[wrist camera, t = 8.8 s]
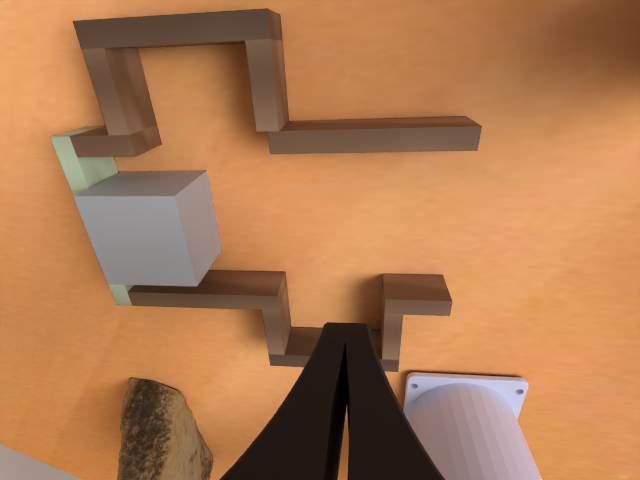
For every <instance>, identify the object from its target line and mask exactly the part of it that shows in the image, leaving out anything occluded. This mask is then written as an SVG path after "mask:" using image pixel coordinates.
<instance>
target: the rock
mask: <svg viewBox="0 0 640 480" xmlns="http://www.w3.org/2000/svg"><path fill="white" fill-rule="evenodd" d="M120 430H121V433H122V440H121V450H120V453H119V469H118V476H117V480H209V479H210V473H211V471H212V466H213V458H212V455H211V453H210V451H209V450H208V448H207V446H206V445H205V442H204V439H203V437H202V435H201V434H200V432H199V430H198V428H197V426H196V420H195V419H194V417H193V415H192V412H191V411H190V409H189V408H188V406H187V405H186V401H185V398H184V397H183V395H182V394H181V393H180V392H179V391H178V390H174V389H172V388H170V387H167V386H165V385H162V384H159V383H157V382H153V381H150V380H143V379H135V378H131V379H130V380H129V389H128V391H127V392H126V394H125V397H124V400H123V408H122V413H121V425H120Z"/></svg>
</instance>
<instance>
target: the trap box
mask: <svg viewBox="0 0 640 480" xmlns="http://www.w3.org/2000/svg"><path fill="white" fill-rule="evenodd" d="M73 24H74V27H75V30H76V33H77V37H78V40H79V43H80V46H81V49H82V52H83V55H84V59H85V62H86V65H87V68H88V71H89V74H90V77H91V80H92V84H93V87H94V90H95V93H96V96H97V99H98V102H99V106H100V109H101V112H102V115H103V118H104V121H105V124H106V126H96V127H84V128H80V129H76V130H73V131H69V132H65V133H62V134H58V135H55V136H51V137H50V138H51V141H52V143H53V146H54V148H55V151H56V153H57V156H58V158H59V161H60V163H61V166H62V168H63V171H64V174H65V176H66V179H67V181H68V184H69V186H70V189H71V191H72V194H73V196H75V195H77V194H79V193H80V192H82V191H84V190H86V189H88V188H90V187H92V186H94V185H96V184H98V183H100V182H102V181H104V180H106V179H108V178H110V177H112V176H114V175H116V174H118V170H117V166H116V163H115V160H114V157H135V156H138V155H140V154H142V153H144V152H146V151H148V150H150V149H153V148H155V147H157V146H159V145H161V144H162V143H161V139H160V135H159V131H158V127H157V123H156V119H155V115H154V112H153V108H152V104H151V100H150V96H149V92H148V88H147V84H146V80H145V76H144V72H143V68H142V64H141V60H140V56H139V52H138V48H155V47H174V46H193V45H212V44H230V43H245V44H246V52H247V60H248V68H249V76H250V84H251V92H252V100H253V108H254V116H255V124H256V132H266V131H268V140H269V149H270V154H308V153H365V152H423V151H478V145H479V139H480V133H481V127H482V126H481V125H479V124H477V123H476V122H474V121H473V120H471V119H469V118H468V117H466V116H457V117H421V118H385V119H349V120H313V121H289V116H288V103H287V91H286V79H285V66H284V54H283V42H282V29H281V17H280V14H278V13H276V12H273V11H271V10H269V9H253V10H237V11H221V12H206V13H190V14H174V15H159V16H143V17H127V18H111V19H96V20H80V21H73ZM109 287H110V289H111V292H112V294H113V297H114V299H115V302H116V305H126V306H157V307H188V308H219V309H250V310H262V314H263V321H264V327H265V334H266V340H267V347H268V354H269V360H270V365H271V366H291V367H305V366H306V364H307V362H308V360H309V358H310V357H311V355H312V352H313V350H314V348H315V346H316V344H317V342H318V340H319V337H320V335H321V332H322V330H323V328H304V327H291V320H290V311H289V301H288V292H287V282H286V273H285V272H269V271H219V270H208V271H207V273H206V274H205V276H204V277H203V279H202V280H201V282H200V283H199V284H198V286H159V285H120V284H109ZM451 306H452V299H451V296H450V294H449V291H448V288H447V286H446V283H445V280H444V277H443V275H420V274H383V282H382V302H381V322H380V330H371V334H372V338H373V342H374V345H375V349H376V352H377V354H378V357H379V360H380V363H381V365H382V368H383V370H384V371H392V372H398V366H399V355H400V344H401V332H402V321H403V314H406V315H437V316H450V312H451Z"/></svg>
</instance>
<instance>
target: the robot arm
mask: <svg viewBox="0 0 640 480" xmlns="http://www.w3.org/2000/svg"><path fill="white" fill-rule="evenodd" d="M528 387H529V385H528V383H527V381H526V379H524V378H520V377H500V376H480V375H460V374H439V373H419V372H412V373H409V374H408V375H407V380H406V390H405V399H404V409H403V410H402V408H401V406H400V405H399V403H398V401H397V399H396V397H395V395H394V392H393V390H392V388H391V386H390V384H389V382H388V379H387V377H386V375H385V372H384V370H383V368H382V365H381V363H380V360H379V357H378V354H377V352H376V349H375V345H374V342H373V338H372V334H371V328H370V326H369V325H368V324H362V323H328V322H327V323H326V324H325V325H324V327H323V330H322V332H321V335H320V337H319V340H318V342H317V344H316V346H315V348H314V350H313V352H312V355H311V357H310V358H309V360H308V362H307V364H306V366H305V367H304V369H303V371H302V373H301V375H300V376H299V378H298V380H297V381H296V383H295V384H294V386H293V388H292V389H291V391H290V392H289V394H288V395H287V397H286V399H285V400H284V402H283V403H282V405H281V406H280V407H279V409H278V410H277V412H276V413H275V414H274V416H273V417H272V419H271V420H270V421H269V423H268V424H267V425H266V427H265V428H264V429H263V430H262V432H261V433H260V434H259V435H258V437H257V438H256V439H255V440H254V442H253V443H252V444H251V445H250V446H249V448H248V449H247V450H246V451H245V452H244V454H243V455H242V456H241V457H240V458H239V459H238V460H237V462H236V463H235V464H234V465H233V466H232V467H231V468H230V469H229V470H228V471H227V472H226V473H225V474H224V476H223V477H222V478H221V479H220V480H337V478H338V470H339V462H340V454H341V446H342V438H343V431H344V423H345V414H346V406H347V412H348V430H349V458H348V480H542V478H541V476H540V473H539V471H538V469H537V466H536V464H535V461H534V459H533V457H532V454H531V452H530V450H529V447H528V445H527V443H526V440H525V438H524V436H523V433H522V431H521V428H520V426H519V424H518V421H517V419H518V416H519V413H520V410H521V407H522V404H523V401H524V399H525V396H526V393H527V390H528Z"/></svg>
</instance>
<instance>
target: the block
mask: <svg viewBox="0 0 640 480" xmlns="http://www.w3.org/2000/svg"><path fill="white" fill-rule="evenodd" d="M73 198H74V201H75V203H76V206H77V208H78V211H79V213H80V216H81V218H82V221H83V223H84V226H85V228H86V231H87V233H88V236H89V238H90V241H91V243H92V246H93V249H94V251H95V254H96V256H97V259H98V261H99V264H100V266H101V269H102V271H103V274H104V276H105V279H106V281H107V284H120V285H159V286H198V284H199V283H200V282H201V280H202V279H203V277H204V276H205V274H206V273H207V271H208V270H209V268H210V267H211V266H212V264H213V263H214V261H215V260H216V258H217V257H218V255H219V254H220V252H221V251H222V245H221V240H220V235H219V230H218V225H217V220H216V215H215V209H214V204H213V199H212V194H211V189H210V184H209V179H208V174H207V171H122V172H120V173H118V174H116V175H114V176H112V177H110V178H108V179H106V180H104V181H102V182H100V183H98V184H96V185H94V186H92V187H90V188H88V189H86V190H84V191H82V192H80V193H79V194H77V195H75V196H73Z"/></svg>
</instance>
